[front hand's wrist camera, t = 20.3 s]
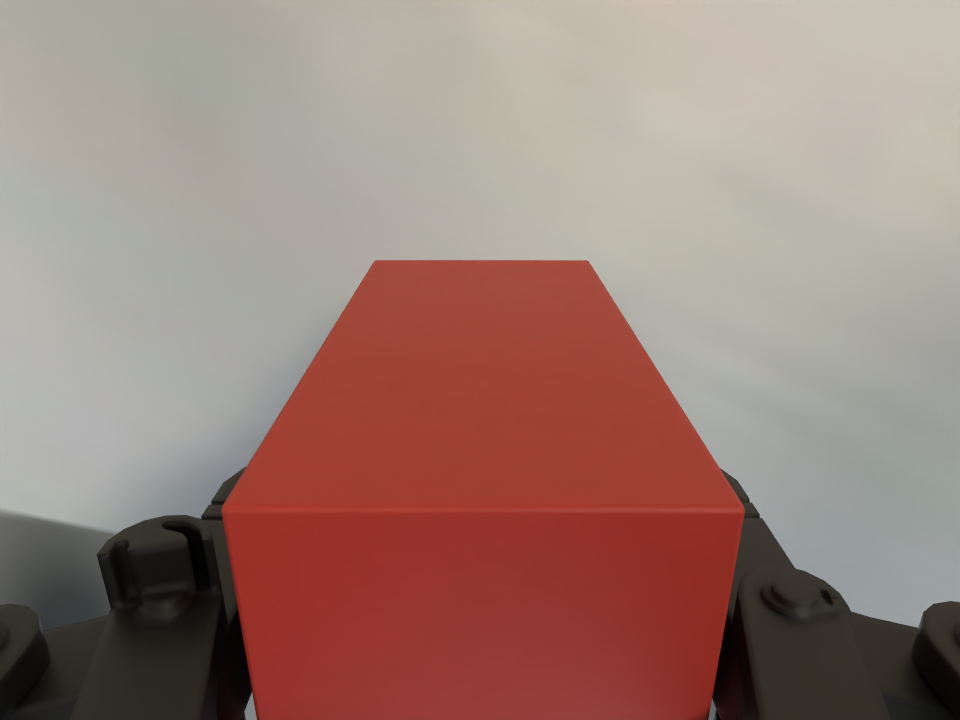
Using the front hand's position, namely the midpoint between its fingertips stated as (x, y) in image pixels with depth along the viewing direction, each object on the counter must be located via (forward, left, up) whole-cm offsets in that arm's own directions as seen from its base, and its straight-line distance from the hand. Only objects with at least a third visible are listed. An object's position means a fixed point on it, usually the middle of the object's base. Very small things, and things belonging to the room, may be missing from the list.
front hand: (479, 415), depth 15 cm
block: (0, 0, -1) cm, 1 cm away
